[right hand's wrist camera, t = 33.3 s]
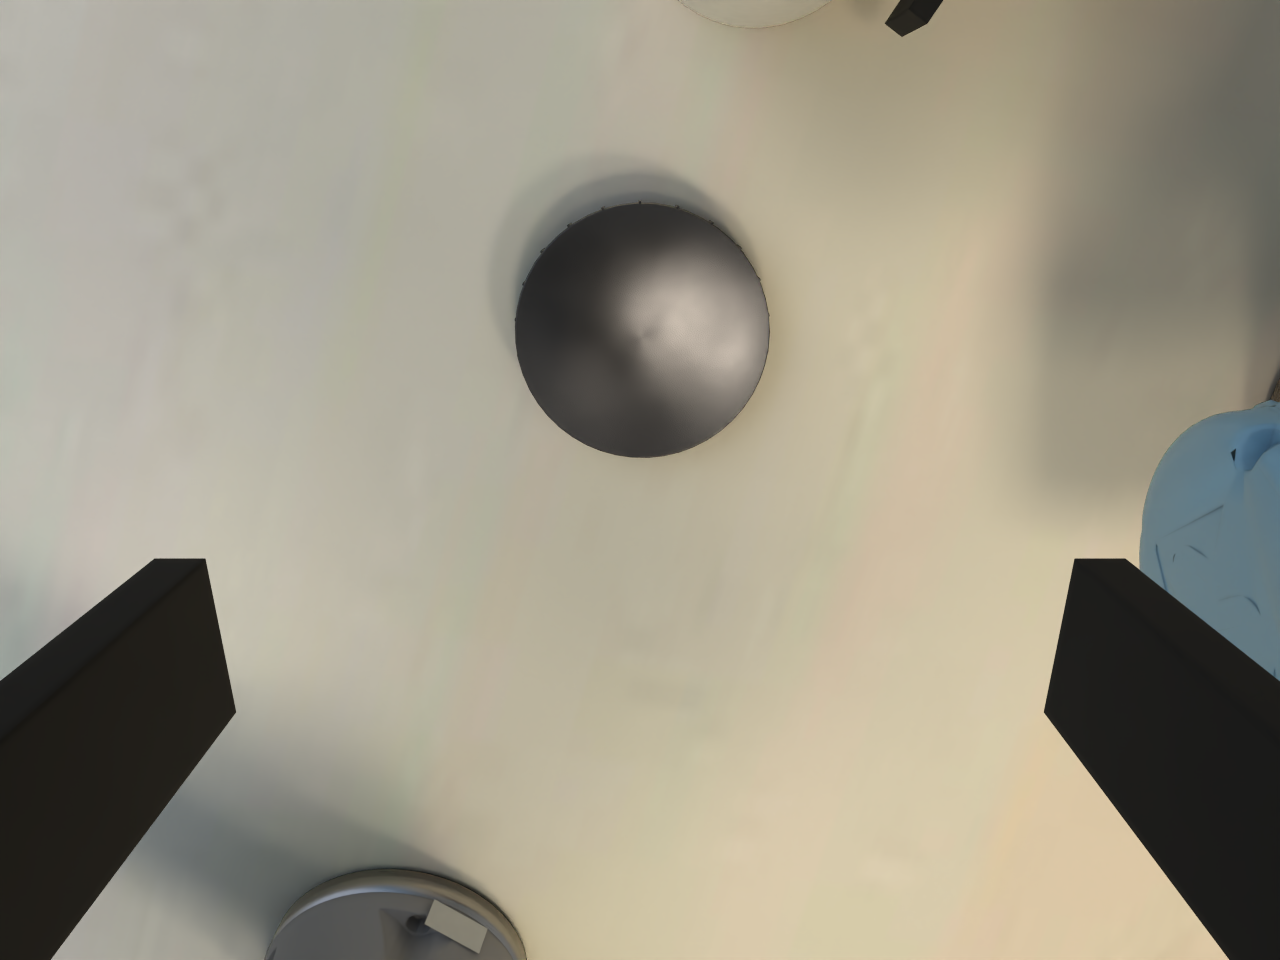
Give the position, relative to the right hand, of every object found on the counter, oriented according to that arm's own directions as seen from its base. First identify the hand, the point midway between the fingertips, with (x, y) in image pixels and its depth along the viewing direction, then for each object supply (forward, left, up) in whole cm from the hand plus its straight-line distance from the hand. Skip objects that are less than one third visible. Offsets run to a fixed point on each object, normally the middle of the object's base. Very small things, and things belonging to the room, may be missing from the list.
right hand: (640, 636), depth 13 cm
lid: (0, 0, -25) cm, 25 cm away
